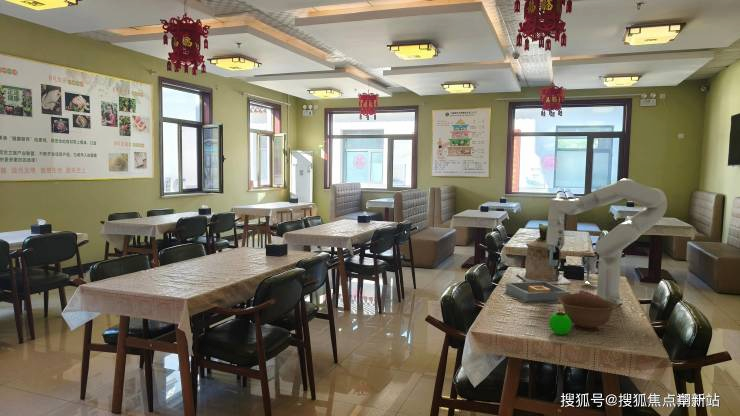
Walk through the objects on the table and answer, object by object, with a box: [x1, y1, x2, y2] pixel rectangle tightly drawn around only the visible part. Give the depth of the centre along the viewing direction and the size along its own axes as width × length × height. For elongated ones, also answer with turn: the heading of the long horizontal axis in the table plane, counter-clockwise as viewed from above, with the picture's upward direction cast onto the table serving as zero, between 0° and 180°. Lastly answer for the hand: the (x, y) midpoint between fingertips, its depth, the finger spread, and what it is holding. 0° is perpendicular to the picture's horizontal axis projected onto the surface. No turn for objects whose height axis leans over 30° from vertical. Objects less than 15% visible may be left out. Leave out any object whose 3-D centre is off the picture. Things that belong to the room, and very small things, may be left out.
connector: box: [549, 245, 558, 266], centre depth 252 cm, size 4×4×10 cm
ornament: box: [548, 307, 573, 336], centre depth 188 cm, size 8×8×10 cm
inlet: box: [528, 286, 550, 293], centre depth 249 cm, size 8×8×2 cm
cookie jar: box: [516, 223, 571, 285], centre depth 284 cm, size 25×25×32 cm
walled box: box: [505, 281, 571, 304], centre depth 246 cm, size 22×22×4 cm
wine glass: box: [580, 254, 598, 285], centre depth 278 cm, size 8×8×15 cm
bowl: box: [558, 293, 619, 332], centre depth 197 cm, size 22×22×11 cm
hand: (553, 258), depth 252 cm, fingers closed on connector, 4 cm apart
